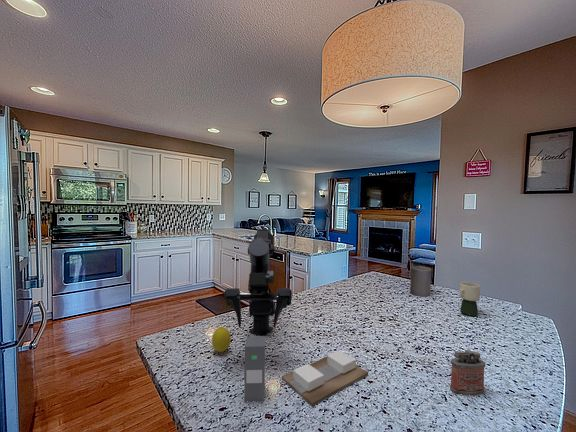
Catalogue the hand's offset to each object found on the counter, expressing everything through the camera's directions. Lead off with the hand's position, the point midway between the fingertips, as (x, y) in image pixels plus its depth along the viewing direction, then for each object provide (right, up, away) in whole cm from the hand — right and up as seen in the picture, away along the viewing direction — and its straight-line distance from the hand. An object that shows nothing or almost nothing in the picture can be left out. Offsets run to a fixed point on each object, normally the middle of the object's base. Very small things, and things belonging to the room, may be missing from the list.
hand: (257, 326), depth 73 cm
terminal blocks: (+18, -12, 0) cm, 22 cm away
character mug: (+85, -13, +44) cm, 97 cm away
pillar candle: (+77, -11, +71) cm, 105 cm away
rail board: (+18, -13, 0) cm, 22 cm away
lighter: (+53, -14, -5) cm, 55 cm away
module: (0, -13, -7) cm, 15 cm away
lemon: (-12, -13, +12) cm, 21 cm away
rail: (+18, -13, 0) cm, 22 cm away
